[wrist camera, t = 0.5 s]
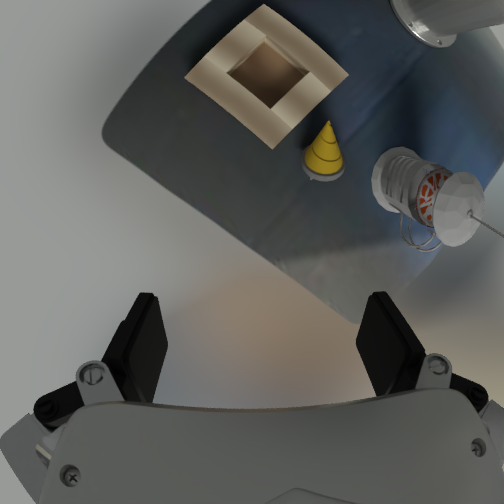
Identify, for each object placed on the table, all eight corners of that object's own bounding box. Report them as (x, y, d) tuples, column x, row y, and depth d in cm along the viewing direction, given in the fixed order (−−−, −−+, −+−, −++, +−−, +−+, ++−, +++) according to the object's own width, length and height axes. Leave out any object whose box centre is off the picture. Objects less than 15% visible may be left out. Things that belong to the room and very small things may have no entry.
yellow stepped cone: (292, 176, 34) (291, 120, 25) (318, 155, 35) (323, 99, 26) (323, 201, 33) (334, 147, 23) (349, 177, 34) (364, 123, 24)
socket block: (262, 15, 24) (263, 3, 21) (338, 79, 28) (348, 75, 25) (191, 82, 28) (184, 77, 25) (269, 147, 32) (272, 149, 29)
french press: (435, 165, 33) (569, 228, 10) (405, 232, 37) (512, 337, 15) (387, 134, 31) (542, 173, 9) (355, 208, 36) (470, 325, 13)
